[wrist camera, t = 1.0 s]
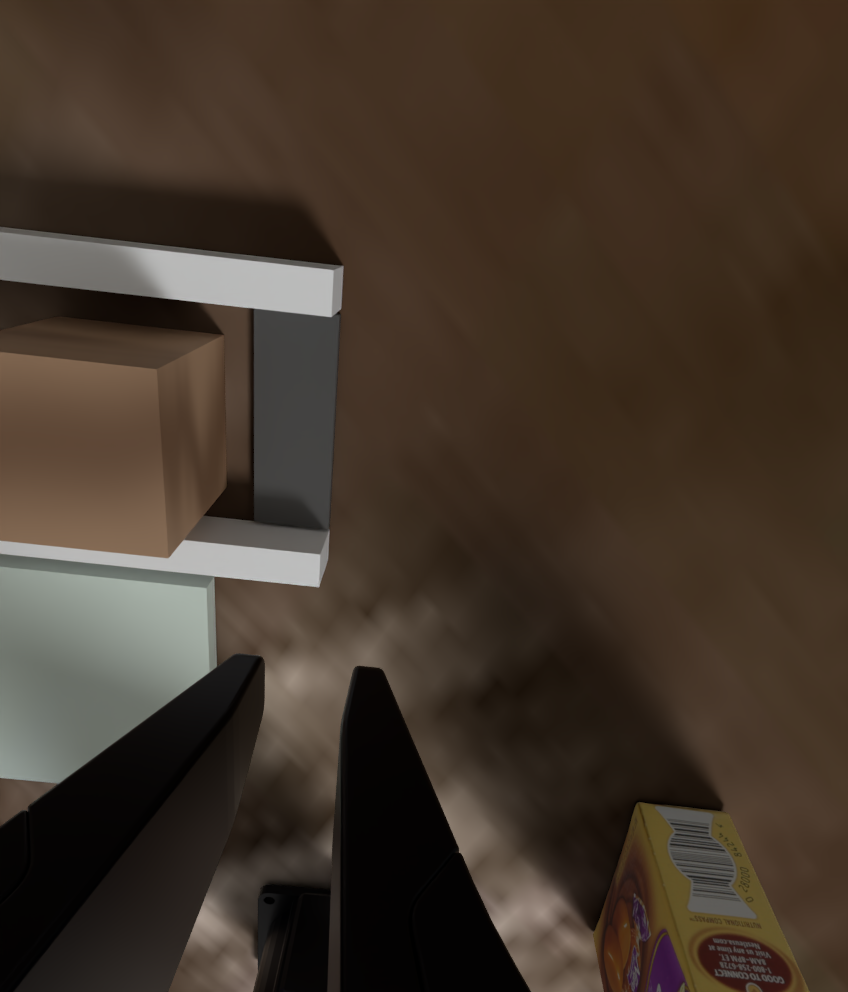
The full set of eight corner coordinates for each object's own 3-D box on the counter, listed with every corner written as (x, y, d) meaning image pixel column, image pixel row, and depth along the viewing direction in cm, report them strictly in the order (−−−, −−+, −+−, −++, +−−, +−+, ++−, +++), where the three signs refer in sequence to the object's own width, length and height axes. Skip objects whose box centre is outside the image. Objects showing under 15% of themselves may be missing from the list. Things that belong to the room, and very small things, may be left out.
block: (227, 485, 21) (168, 558, 17) (77, 469, 21) (-24, 538, 16) (224, 334, 19) (156, 369, 15) (59, 315, 19) (-63, 345, 14)
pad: (220, 782, 26) (214, 798, 26) (-21, 758, 26) (-35, 774, 25) (214, 576, 22) (206, 588, 22) (-71, 546, 22) (-88, 557, 21)
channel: (328, 559, 22) (318, 587, 20) (-78, 517, 22) (-120, 540, 20) (343, 265, 18) (333, 270, 17) (-149, 209, 18) (-208, 208, 16)
